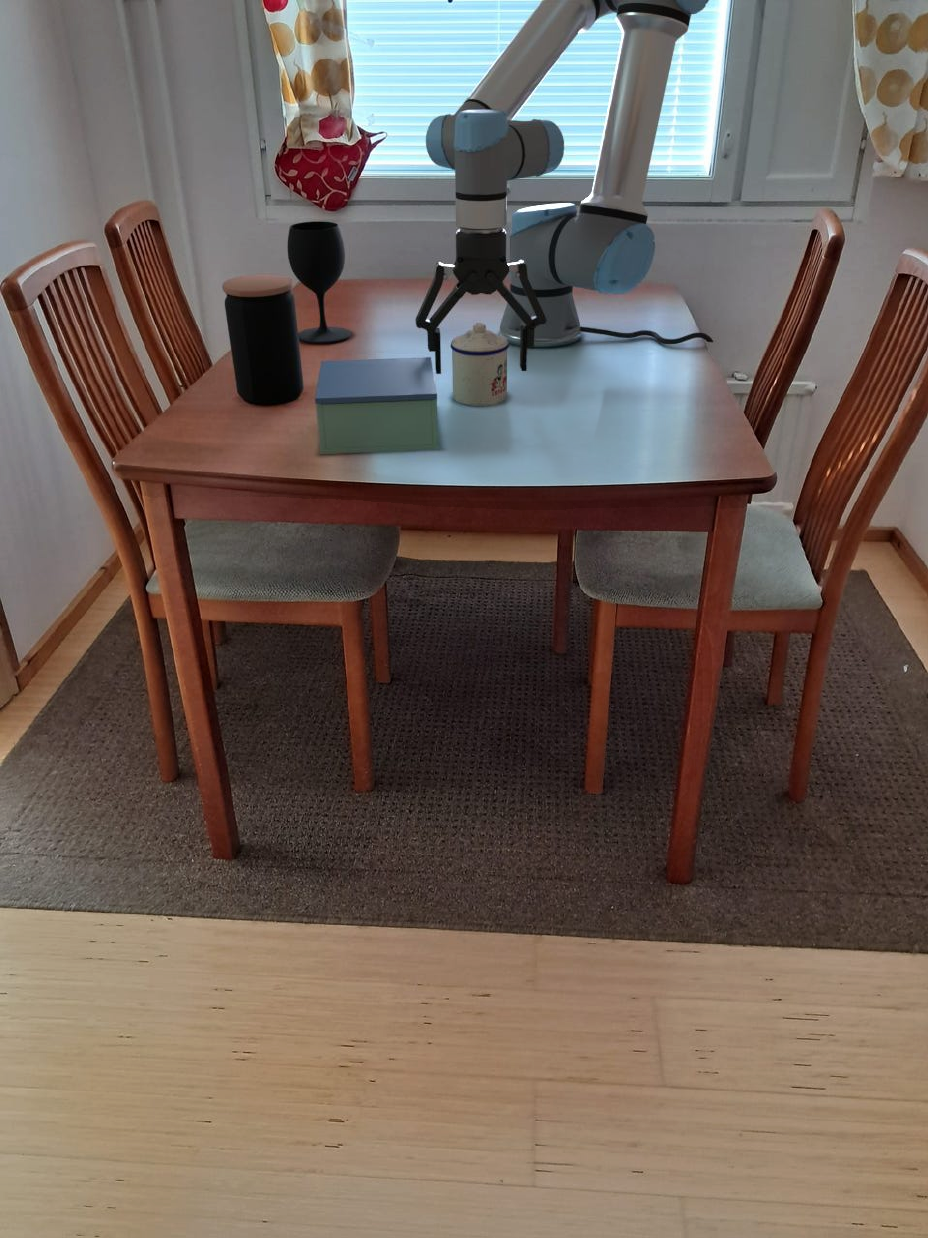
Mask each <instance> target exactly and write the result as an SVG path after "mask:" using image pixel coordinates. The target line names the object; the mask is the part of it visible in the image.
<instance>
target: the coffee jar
mask: <svg viewBox="0 0 928 1238" xmlns="http://www.w3.org/2000/svg"><path fill="white" fill-rule="evenodd" d="M221 287H222V291H223V292H224V294H226V297H225V299H224V311H225V316H226V324H227V331H228V338H229V345H230V352H231V358H232V365H233V373H234V378H235V386H236V393H237V395H238V396H239V397H240V398H241V399H242V401H243V402H244V403H246V404H248V405H250V406H257V407H277V406H282V405H283V406H284V405H286V404H291V403H293V402H295V401H297V400H298V399H299V398H300V397H301V395H302V393H303V392H304V387H305V386H304V376H303V368H302V367H303V366H302V358H301V357H302V356H301V348H300V341H299V337H298V334H299V329H298V320H297V311H296V300H295V295H294V294H293V293H292V292H291V291H292V289H293V279H292V278H291V277H289V276H286V275H281V274H270V273H259V274H246V275H241V276H236V277H232V278H228V279H227V280H225V281H223V282H222V285H221Z"/></svg>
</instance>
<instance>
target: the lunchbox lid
mask: <svg viewBox="0 0 928 1238" xmlns="http://www.w3.org/2000/svg"><path fill="white" fill-rule="evenodd" d="M432 361H433V360H432V357H431V356H425V357H423V356H422V357H399V358H398V357H397V358H371V359H345V360H342V359H341V360H322V361H321V362H320V367H319V373H318V379H317V385H316V391H315V397H314V402H315V403H314V404H315V405H316V404H328V403H353V402H379V401H404V400H430V399H437V400H438V391H437V386H436V380H435V373H434V368H433V362H432Z"/></svg>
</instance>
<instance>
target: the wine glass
mask: <svg viewBox="0 0 928 1238" xmlns="http://www.w3.org/2000/svg"><path fill="white" fill-rule="evenodd" d="M287 258H288V263H289V265H290V269H291V271H292V273H293V275H294V276H295V277H296V279H297V280H298V281H299V282H300V283H301V284H302V285H303V286H304V287H306V288H307V289H308V290H309V291H311V292H313V293H314V294H315V296H316V299H317V304H318V312H319V326H318V327H313V328H308V329H304V330H301V331H300V332H298V337H299V342H301V343H305V344H307V345H308V344H310V345H331V344H337V343H342V342H345V341H347V340H348V339H350V338H351V337H352V332H351V331H350V330H348V329H347V328H343V327H338V326H328V324H327V320H326V313H325V295H326V293H327V292H328V291H329V290H330V289H331V288H332V287H333V286H334V285H335V284H336V283H337V282H338V280H339V279H340V277H341V276H342V273H343V271H344V268H345V263H346V249H345V243H344V239H343V236H342V232H341V229H340V227H339V224H338V223H336V222H333V221H331V222H330V221H325V220H324V221H319V220H317V221H303V222H297V223H294V224H291V225H290V226H289V228H288V235H287Z"/></svg>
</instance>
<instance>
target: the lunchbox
mask: <svg viewBox="0 0 928 1238" xmlns="http://www.w3.org/2000/svg"><path fill="white" fill-rule="evenodd" d="M315 409H316V418H317V427H318V429H317V430H318V437H319V438H318V439H319V449H320V455H335V454H336V455H337V454H360V453H361V454H363V453H385V452H386V453H387V452H408V451H410V452H411V451H431V450H432V451H433V450H434V451H435V450H439V424H438V422H439V421H438V420H439V419H438V398H437V399H430V400H404V401H379V402H353V403H328V404H315Z"/></svg>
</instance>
